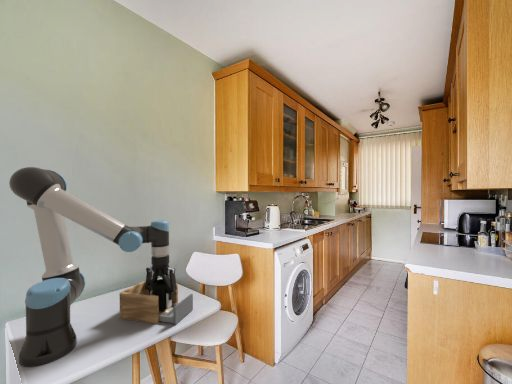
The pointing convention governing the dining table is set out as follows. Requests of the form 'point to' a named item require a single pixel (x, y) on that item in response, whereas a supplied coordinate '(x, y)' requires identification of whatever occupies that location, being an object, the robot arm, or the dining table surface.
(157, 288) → the cup
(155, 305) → the housing
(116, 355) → the dining table surface
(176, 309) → the grey drawer
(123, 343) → the dining table surface
